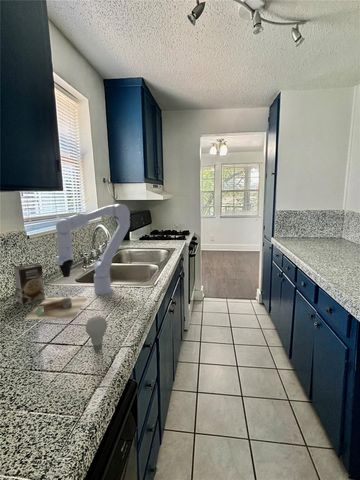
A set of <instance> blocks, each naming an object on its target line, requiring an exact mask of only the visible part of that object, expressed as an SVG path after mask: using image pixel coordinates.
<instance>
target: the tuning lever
mask: <svg viewBox="0 0 360 480" xmlns="http://www.w3.org/2000/svg"><path fill="white" fill-rule="evenodd" d="M38 306H43V310H44V311H49V310H53V309H58V308H69V307H71V306H72V302H71V298H64V299H62V300H58V301H53V302H48V303H43V304H41V303H40V304H39V305H38Z"/></svg>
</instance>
